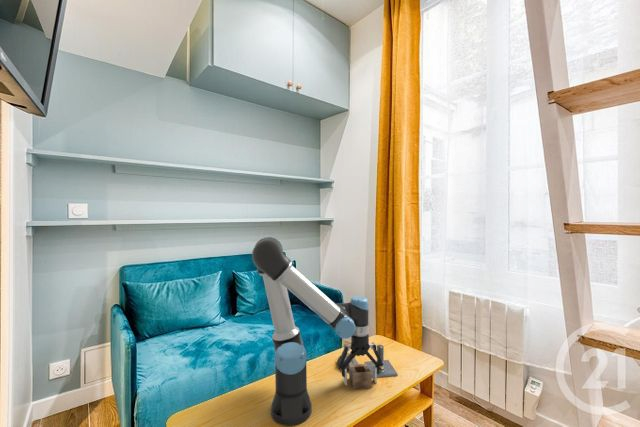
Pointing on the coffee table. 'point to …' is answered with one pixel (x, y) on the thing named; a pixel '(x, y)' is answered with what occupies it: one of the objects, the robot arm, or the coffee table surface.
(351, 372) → the collar
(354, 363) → the fossilized seashell
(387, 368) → the knob on metal plate
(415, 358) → the coffee table surface
